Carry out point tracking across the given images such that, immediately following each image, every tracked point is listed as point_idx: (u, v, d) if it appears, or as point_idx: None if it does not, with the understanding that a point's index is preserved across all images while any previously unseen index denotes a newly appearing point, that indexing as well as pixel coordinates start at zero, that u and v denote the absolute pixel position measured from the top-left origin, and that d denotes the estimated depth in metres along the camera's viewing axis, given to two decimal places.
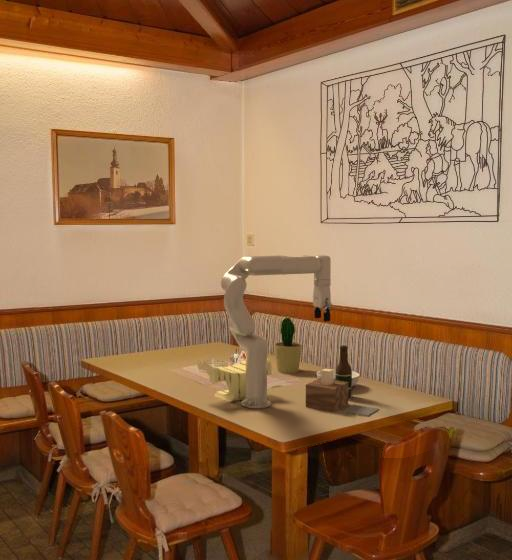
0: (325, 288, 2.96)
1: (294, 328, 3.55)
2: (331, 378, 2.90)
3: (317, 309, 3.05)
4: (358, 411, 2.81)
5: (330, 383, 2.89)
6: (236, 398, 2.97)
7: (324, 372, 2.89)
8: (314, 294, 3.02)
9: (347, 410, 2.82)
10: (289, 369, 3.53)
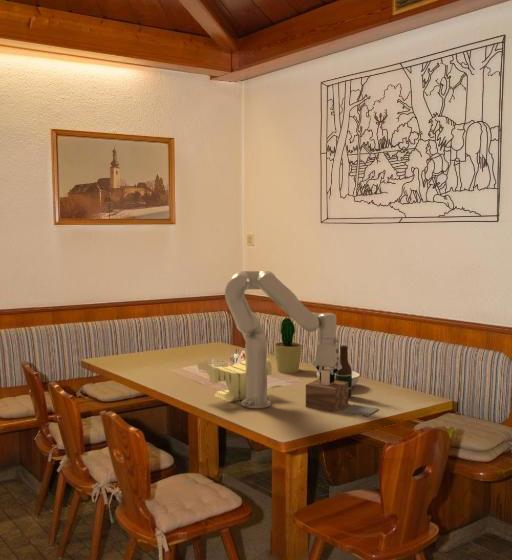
0: None
1: (294, 328, 3.55)
2: None
3: None
4: (358, 411, 2.81)
5: (330, 383, 2.89)
6: (236, 398, 2.97)
7: (324, 372, 2.89)
8: None
9: (347, 410, 2.82)
10: (289, 369, 3.53)
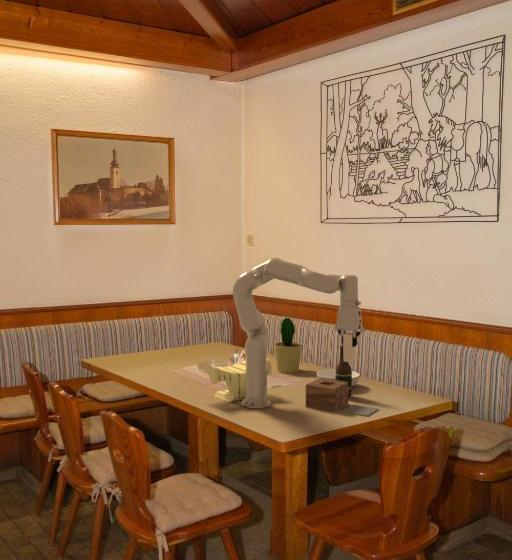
0: None
1: (294, 328, 3.55)
2: None
3: None
4: (358, 411, 2.81)
5: (353, 347, 2.82)
6: (236, 398, 2.97)
7: (346, 335, 2.82)
8: None
9: (347, 410, 2.82)
10: (289, 369, 3.53)
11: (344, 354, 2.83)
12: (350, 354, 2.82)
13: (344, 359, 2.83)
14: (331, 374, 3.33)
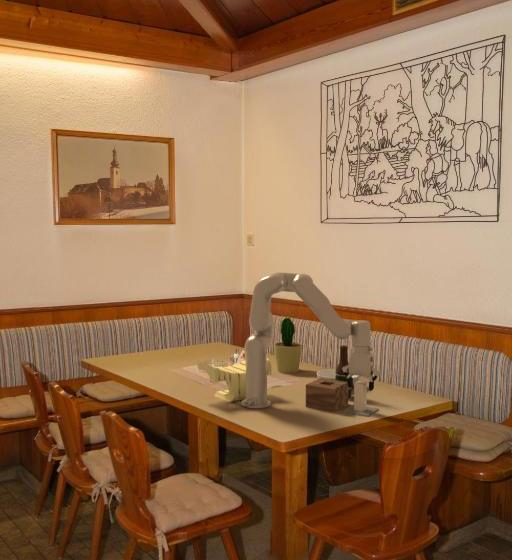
0: None
1: (294, 328, 3.55)
2: (365, 391, 2.82)
3: None
4: (358, 411, 2.81)
5: (364, 396, 2.81)
6: (236, 398, 2.97)
7: (357, 384, 2.81)
8: None
9: (347, 410, 2.82)
10: (289, 369, 3.53)
11: (355, 403, 2.82)
12: (361, 403, 2.81)
13: (355, 408, 2.82)
14: (331, 374, 3.33)
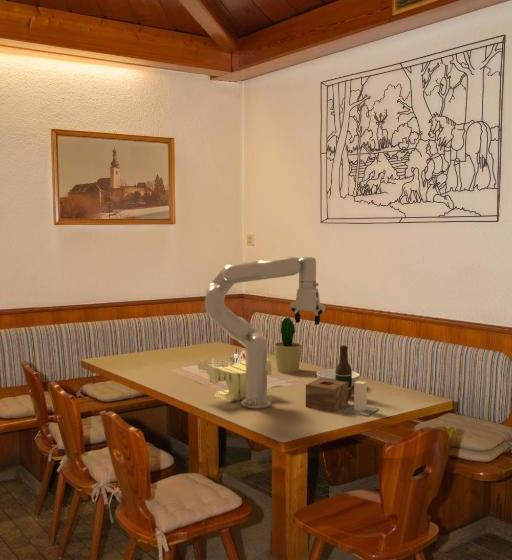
0: None
1: (294, 328, 3.55)
2: (364, 391, 2.82)
3: None
4: (358, 411, 2.81)
5: (363, 396, 2.81)
6: (236, 398, 2.97)
7: (357, 384, 2.81)
8: None
9: (347, 410, 2.82)
10: (289, 369, 3.53)
11: (355, 403, 2.82)
12: (361, 403, 2.81)
13: (355, 408, 2.82)
14: (331, 374, 3.33)
